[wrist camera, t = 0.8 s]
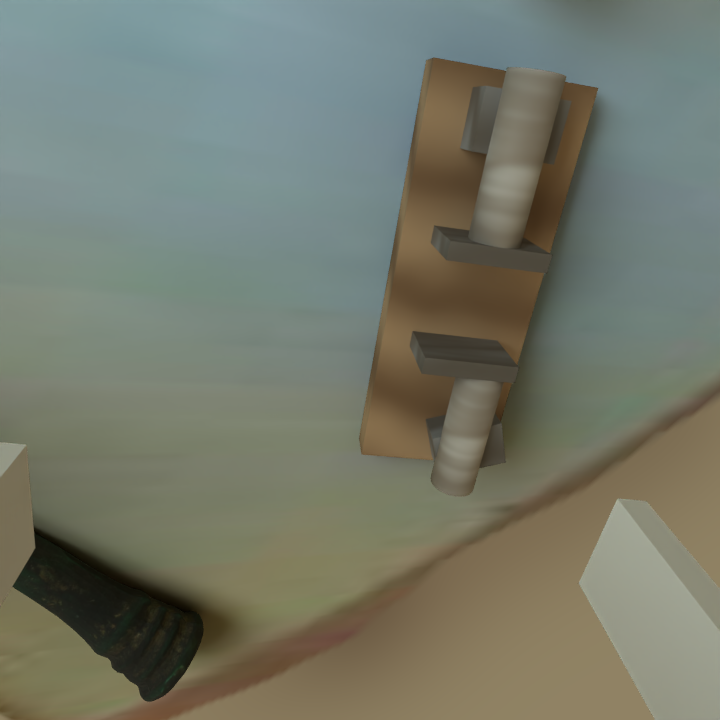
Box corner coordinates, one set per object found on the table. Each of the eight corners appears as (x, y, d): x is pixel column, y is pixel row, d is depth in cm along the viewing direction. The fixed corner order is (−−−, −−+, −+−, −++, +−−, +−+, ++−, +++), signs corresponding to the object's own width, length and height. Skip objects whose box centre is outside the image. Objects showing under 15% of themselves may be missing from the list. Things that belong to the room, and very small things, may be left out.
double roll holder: (426, 60, 30) (452, 50, 25) (581, 89, 31) (639, 85, 26) (359, 438, 40) (367, 491, 34) (480, 448, 41) (506, 501, 36)
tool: (218, 603, 46) (206, 679, 40) (164, 645, 47) (144, 724, 41) (-104, 384, 35) (-187, 440, 29) (-162, 445, 37) (-253, 510, 31)
